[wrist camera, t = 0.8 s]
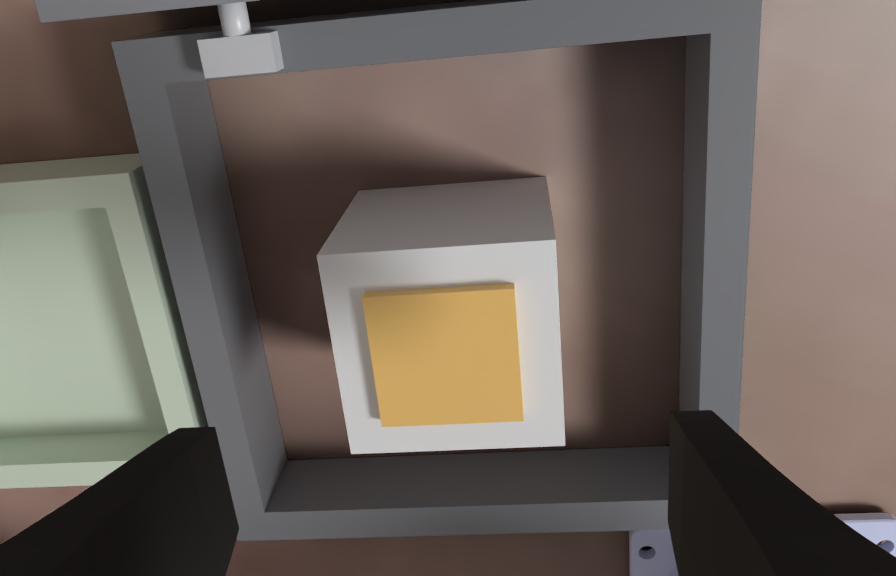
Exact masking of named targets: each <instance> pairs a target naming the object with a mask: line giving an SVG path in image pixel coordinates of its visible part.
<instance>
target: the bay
mask: <svg viewBox="0 0 896 576" xmlns="http://www.w3.org/2000/svg"><path fill="white" fill-rule="evenodd" d="M191 427H209V426H208V422H207V418H206V414H205V410H204V406H203V403H202V399H201V395H200V391H199V387H198V383H197V379H196V375H195V371H194V367H193V363H192V359H191V355H190V351H189V347H188V343H187V339H186V336H185V332H184V328H183V324H182V320H181V316H180V312H179V308H178V304H177V300H176V296H175V292H174V288H173V284H172V280H171V276H170V273H169V269H168V265H167V261H166V257H165V253H164V249H163V245H162V241H161V237H160V233H159V229H158V225H157V221H156V217H155V213H154V209H153V206H152V202H151V198H150V194H149V190H148V186H147V182H146V178H145V174H144V170H143V166H142V162H141V158H140V154H139V153H134V154H122V155H110V156H98V157H86V158H74V159H62V160H50V161H38V162H26V163H14V164H2V165H0V489H3V488H31V487H59V486H87V485H94V484H95V483H97V482H98V481H100V480H101V479H103V478H104V477H105V476H107V475H108V474H110V473H111V472H113V471H114V470H116V469H117V468H118V467H120V466H121V465H123V464H124V463H126V462H127V461H129V460H130V459H131V458H133V457H134V456H136V455H137V454H139V453H140V452H142V451H143V450H145V449H146V448H148V447H149V446H150V445H152V444H153V443H155V442H157V441H158V440H160V439H161V438H163V437H164V436H166V435H168V434H169V433H171V432H173V431H175V430H176V429H178V428H191Z"/></svg>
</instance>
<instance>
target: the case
mask: <svg viewBox="0 0 896 576" xmlns="http://www.w3.org/2000/svg"><path fill="white" fill-rule="evenodd" d="M34 1H35V4H36V8H37V11H38V15H39V18H40V22H41V23H46V22H55V21H65V20H75V19H84V18H94V17H104V16H113V15H123V14H133V13H142V12H152V11H162V10H171V9H181V8H191V7H200V6H210V5H217V7H218V12H219V17H220V22H221V25H220V26H210V27H200V28H190V29H180V30H170V31H160V32H154V33H150V34H145V35H141V36H136V37H132V38H127V39H123V40H118V41H114V42H111V44H112V48H113V52H114V56H115V60H116V64H117V68H118V72H119V75H120V79H121V83H122V87H123V91H124V95H125V99H126V103H127V107H128V111H129V115H130V119H131V123H132V127H133V131H134V135H135V139H136V142H137V146H138V150H139V154H140V158H141V162H142V166H143V170H144V174H145V178H146V182H147V186H148V190H149V194H150V198H151V202H152V206H153V209H154V213H155V217H156V221H157V225H158V229H159V233H160V237H161V241H162V245H163V249H164V253H165V257H166V261H167V265H168V269H169V273H170V276H171V280H172V284H173V288H174V292H175V296H176V300H177V304H178V308H179V312H180V316H181V320H182V324H183V328H184V332H185V336H186V339H187V343H188V347H189V351H190V355H191V359H192V363H193V367H194V371H195V375H196V379H197V383H198V387H199V391H200V395H201V399H202V403H203V406H204V410H205V414H206V418H207V422H208V426H209V427H215V428H216V433H217V437H218V441H219V445H220V449H221V454H222V458H223V462H224V466H225V471H226V475H227V479H228V483H229V487H230V492H231V496H232V500H233V504H234V509H235V513H236V517H237V521H238V525H239V531H238V535H237V540H238V541H266V540H303V539H340V538H377V537H414V536H451V535H488V534H525V533H562V532H599V531H636V530H669V525H668V484H669V446H650V447H624V448H598V449H572V450H546V451H519V452H493V453H467V454H441V455H415V456H389V457H363V458H336V459H310V460H287V456H286V451H285V446H284V441H283V437H282V432H281V427H280V423H279V418H278V413H277V408H276V404H275V399H274V394H273V390H272V385H271V380H270V375H269V371H268V366H267V361H266V357H265V352H264V347H263V342H262V338H261V333H260V328H259V324H258V319H257V314H256V309H255V305H254V300H253V295H252V291H251V286H250V281H249V276H248V272H247V267H246V262H245V258H244V253H243V248H242V243H241V239H240V234H239V229H238V225H237V220H236V215H235V210H234V206H233V201H232V196H231V192H230V187H229V182H228V177H227V173H226V168H225V163H224V159H223V154H222V149H221V144H220V140H219V135H218V130H217V126H216V121H215V116H214V111H213V107H212V102H211V97H210V93H209V88H208V83H207V80H212V79H223V78H234V77H244V76H255V75H266V74H277V73H288V72H298V71H309V70H320V69H331V68H341V67H352V66H363V65H374V64H385V63H395V62H406V61H417V60H428V59H439V58H449V57H460V56H471V55H482V54H492V53H503V52H514V51H525V50H536V49H546V48H557V47H568V46H579V45H589V44H600V43H611V42H622V41H633V40H643V39H654V38H665V37H676V36H686V70H685V121H684V173H683V225H682V277H681V329H680V381H679V411H696V410H712V411H713V412H714V413H716V414H717V415H718V416H719V417H720V418H721V419H722V420H723V421H724V422H725V423H726V424H728V425H729V426H730V427H731V428H732V429H733V430H734V431H735V432H736V433H737V434H738V431H739V413H740V394H741V376H742V357H743V339H744V320H745V302H746V283H747V265H748V246H749V228H750V209H751V191H752V173H753V154H754V136H755V117H756V99H757V80H758V62H759V43H760V25H761V6H762V0H469V1H459V2H449V3H439V4H429V5H419V6H409V7H399V8H389V9H379V10H369V11H359V12H349V13H340V14H330V15H320V16H310V17H300V18H290V19H280V20H270V21H260V22H249V16H248V11H247V5H246V2H249V1H258V0H34Z"/></svg>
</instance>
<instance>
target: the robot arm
mask: <svg viewBox="0 0 896 576" xmlns="http://www.w3.org/2000/svg"><path fill="white" fill-rule="evenodd" d="M668 525H669V530H636V531H629V576H896V516H894V515H892V514H891V513H851V514H832V513H831V512H829V511H828V510H827V509H825V508H824V507H823V506H821V505H820V504H819V503H817V502H816V501H815V500H814V499H812V498H811V497H810V496H809V495H807V494H806V493H805V492H804V491H802V490H801V489H800V488H799V487H797V486H796V485H795V484H794V483H793V482H791V481H790V480H789V479H788V478H787V477H785V476H784V475H783V474H782V473H781V472H780V471H778V470H777V469H776V468H775V467H774V466H773V465H771V464H770V463H769V462H768V461H767V460H766V459H765V458H764V457H762V456H761V455H760V454H759V453H758V452H757V451H756V450H755V449H754V448H753V447H751V446H750V445H749V444H748V443H747V442H746V441H745V440H744V439H743V438H742V437H741V436H739V435H738V434H737V433H736V432H735V431H734V430H733V429H732V428H731V427H730V426H729V425H728V424H726V423H725V422H724V421H723V420H722V419H721V418H720V417H719V416H718V415H717V414H716V413H714V412H713V411H712V410H696V411H670V445H669V484H668ZM238 531H239V525H238V521H237V517H236V513H235V509H234V504H233V500H232V496H231V492H230V487H229V483H228V479H227V475H226V471H225V466H224V462H223V458H222V454H221V449H220V445H219V441H218V437H217V433H216V428H215V427H191V428H178V429H176V430H175V431H173V432H171V433H169V434H168V435H166V436H164V437H163V438H161V439H160V440H158V441H157V442H155V443H153V444H152V445H150V446H149V447H148V448H146V449H145V450H143V451H142V452H140V453H139V454H137V455H136V456H134V457H133V458H131V459H130V460H129V461H127V462H126V463H124V464H123V465H121V466H120V467H118V468H117V469H116V470H114V471H113V472H111V473H110V474H108V475H107V476H105V477H104V478H103V479H101V480H100V481H98V482H97V483H95V484H94V485H92V486H91V487H89V488H88V489H87V490H85V491H84V492H82V493H81V494H79V495H78V496H76V497H75V498H73V499H72V500H70V501H69V502H67V503H66V504H64V505H63V506H61V507H59V508H58V509H56V510H55V511H53V512H52V513H50V514H48V515H47V516H45V517H44V518H42V519H41V520H39V521H38V522H36V523H34V524H33V525H31V526H30V527H28V528H27V529H25V530H24V531H22V532H20V533H19V534H17V535H16V536H14V537H12V538H11V539H9V540H7V541H6V542H4V543H2V544H1V545H0V576H225V575H226V572H227V568H228V565H229V562H230V559H231V556H232V552H233V549H234V545H235V542H236V538H237V535H238ZM884 540H887V541H886V542H885V543H884V544H880V545H877V544H878V543H879V542H881V541H884ZM645 546H650V547H652V548H651V549H650V550H646V551H644V550H640V549H641V548H642V547H645Z"/></svg>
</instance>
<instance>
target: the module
mask: <svg viewBox="0 0 896 576" xmlns="http://www.w3.org/2000/svg"><path fill="white" fill-rule="evenodd" d="M317 261H318V267H319V273H320V278H321V284H322V290H323V296H324V301H325V307H326V313H327V319H328V324H329V330H330V336H331V342H332V347H333V353H334V359H335V365H336V370H337V376H338V382H339V388H340V393H341V399H342V405H343V411H344V417H345V422H346V428H347V434H348V440H349V445H350V451H351V454H369V453H395V452H421V451H447V450H473V449H499V448H525V447H551V446H565V425H564V404H563V383H562V361H561V340H560V319H559V298H558V277H557V256H556V238H555V232H554V225H553V218H552V212H551V205H550V199H549V192H548V186H547V179H546V177H533V178H520V179H506V180H493V181H480V182H467V183H453V184H440V185H427V186H414V187H400V188H387V189H374V190H361V191H358V192H357V194H356V196H355V197H354V199H353V200H352V202H351V203H350V205H349V206H348V208H347V209H346V211H345V212H344V214H343V216H342V217H341V219H340V220H339V222H338V223H337V225H336V226H335V228H334V229H333V231H332V233H331V234H330V236H329V237H328V239H327V240H326V242H325V243H324V245H323V246H322V248H321V250H320V251H319V253H318V254H317Z"/></svg>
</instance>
